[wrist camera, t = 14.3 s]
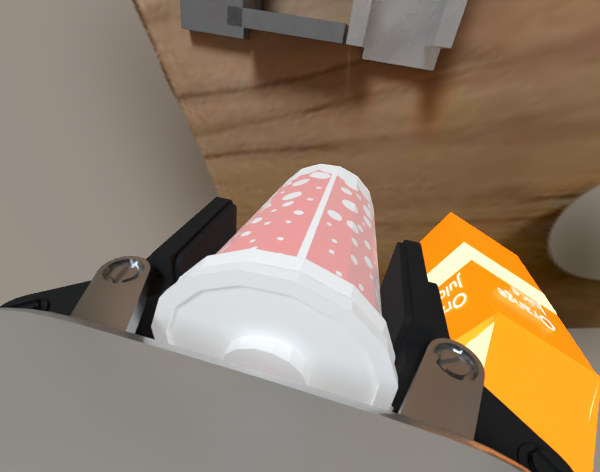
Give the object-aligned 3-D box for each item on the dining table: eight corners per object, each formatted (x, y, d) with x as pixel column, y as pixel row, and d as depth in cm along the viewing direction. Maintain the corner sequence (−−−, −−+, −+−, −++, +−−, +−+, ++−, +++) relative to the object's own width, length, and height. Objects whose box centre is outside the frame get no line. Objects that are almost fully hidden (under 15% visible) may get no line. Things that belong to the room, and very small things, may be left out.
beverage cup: (256, 238, 17) (-37, 669, 5) (279, 128, 13) (-450, 671, 2) (362, 276, 16) (308, 833, 5) (413, 173, 13) (683, 1257, 1)
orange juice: (461, 297, 36) (531, 509, 19) (401, 259, 35) (418, 445, 19) (519, 254, 32) (672, 478, 15) (451, 210, 31) (533, 394, 14)
